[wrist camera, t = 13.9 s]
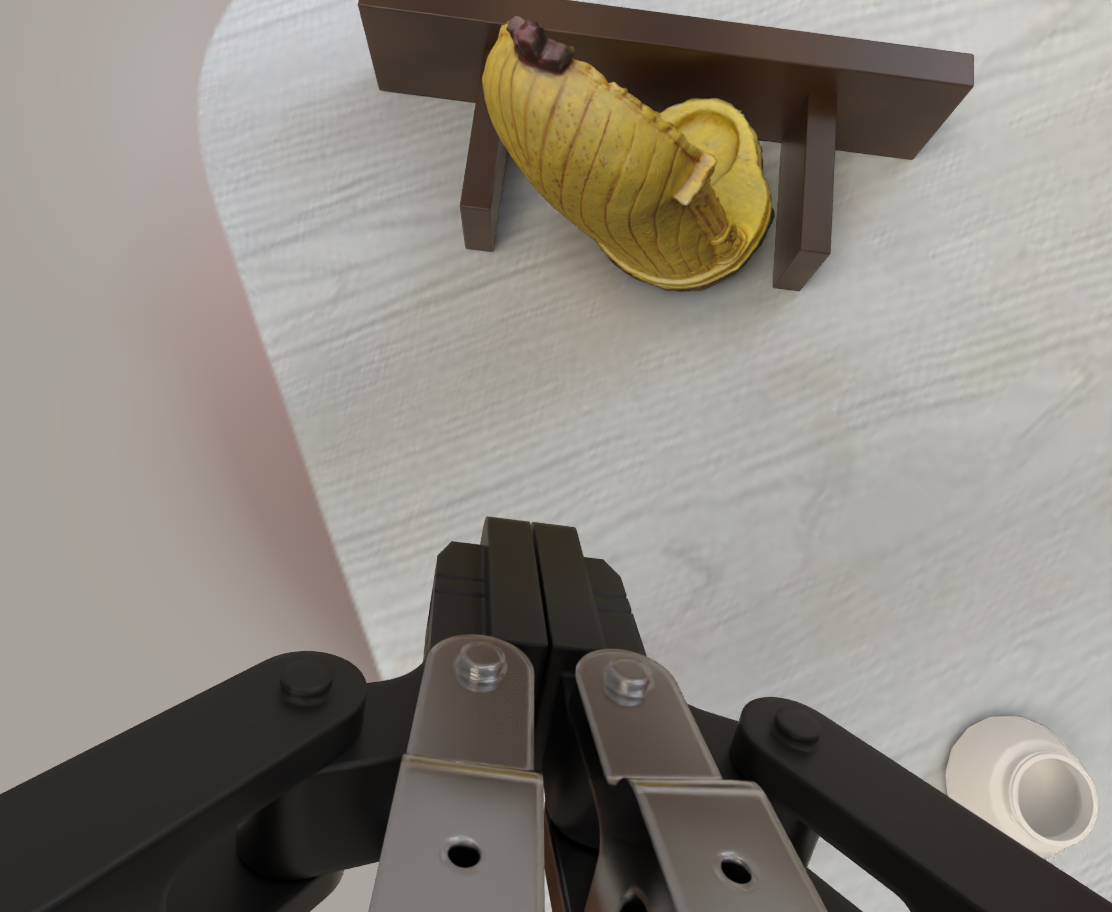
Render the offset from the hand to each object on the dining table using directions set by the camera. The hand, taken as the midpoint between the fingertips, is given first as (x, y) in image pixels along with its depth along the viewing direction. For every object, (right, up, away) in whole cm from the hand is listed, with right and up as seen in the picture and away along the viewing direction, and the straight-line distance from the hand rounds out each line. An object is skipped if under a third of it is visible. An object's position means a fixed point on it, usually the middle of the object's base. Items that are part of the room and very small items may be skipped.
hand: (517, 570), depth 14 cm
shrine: (+4, +11, +22) cm, 24 cm away
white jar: (+18, -11, +17) cm, 27 cm away
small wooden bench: (+4, +14, +22) cm, 26 cm away
